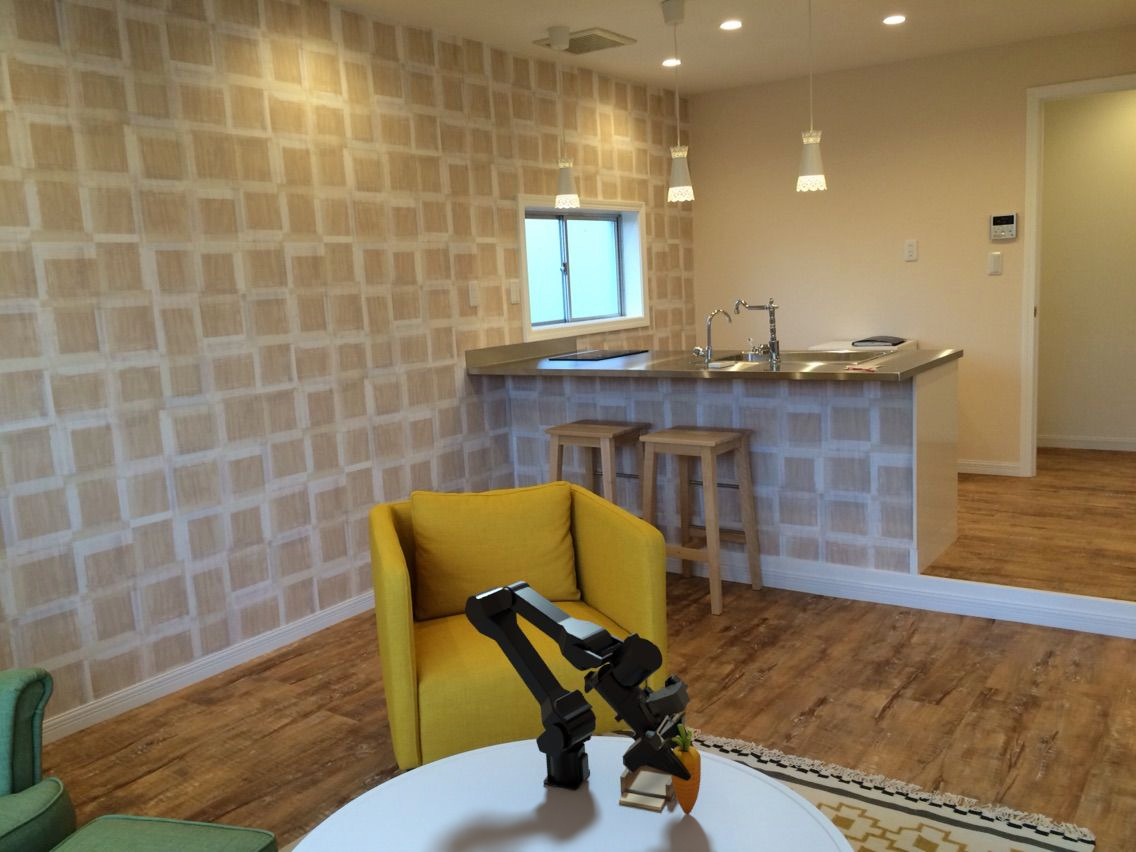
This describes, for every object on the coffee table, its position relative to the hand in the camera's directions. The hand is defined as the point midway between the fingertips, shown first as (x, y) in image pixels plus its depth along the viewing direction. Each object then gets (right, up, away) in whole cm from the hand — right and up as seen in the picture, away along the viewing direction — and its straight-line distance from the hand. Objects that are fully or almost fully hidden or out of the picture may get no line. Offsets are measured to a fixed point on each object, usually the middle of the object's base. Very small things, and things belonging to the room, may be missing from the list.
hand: (693, 770), depth 148 cm
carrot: (-1, -8, +2) cm, 8 cm away
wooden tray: (-6, -7, +10) cm, 13 cm away
